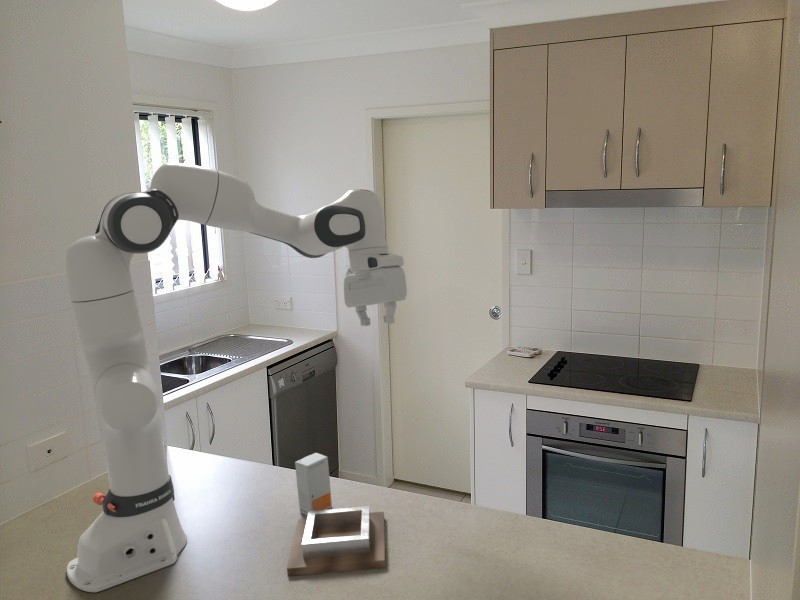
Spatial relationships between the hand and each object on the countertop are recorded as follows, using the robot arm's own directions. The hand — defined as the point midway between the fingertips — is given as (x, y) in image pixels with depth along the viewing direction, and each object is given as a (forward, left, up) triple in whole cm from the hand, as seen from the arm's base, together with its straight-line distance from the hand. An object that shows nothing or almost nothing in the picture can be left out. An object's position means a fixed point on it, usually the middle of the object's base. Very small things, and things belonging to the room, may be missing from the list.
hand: (377, 324), depth 150 cm
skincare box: (-18, +5, -39) cm, 43 cm away
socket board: (-24, -10, -38) cm, 47 cm away
